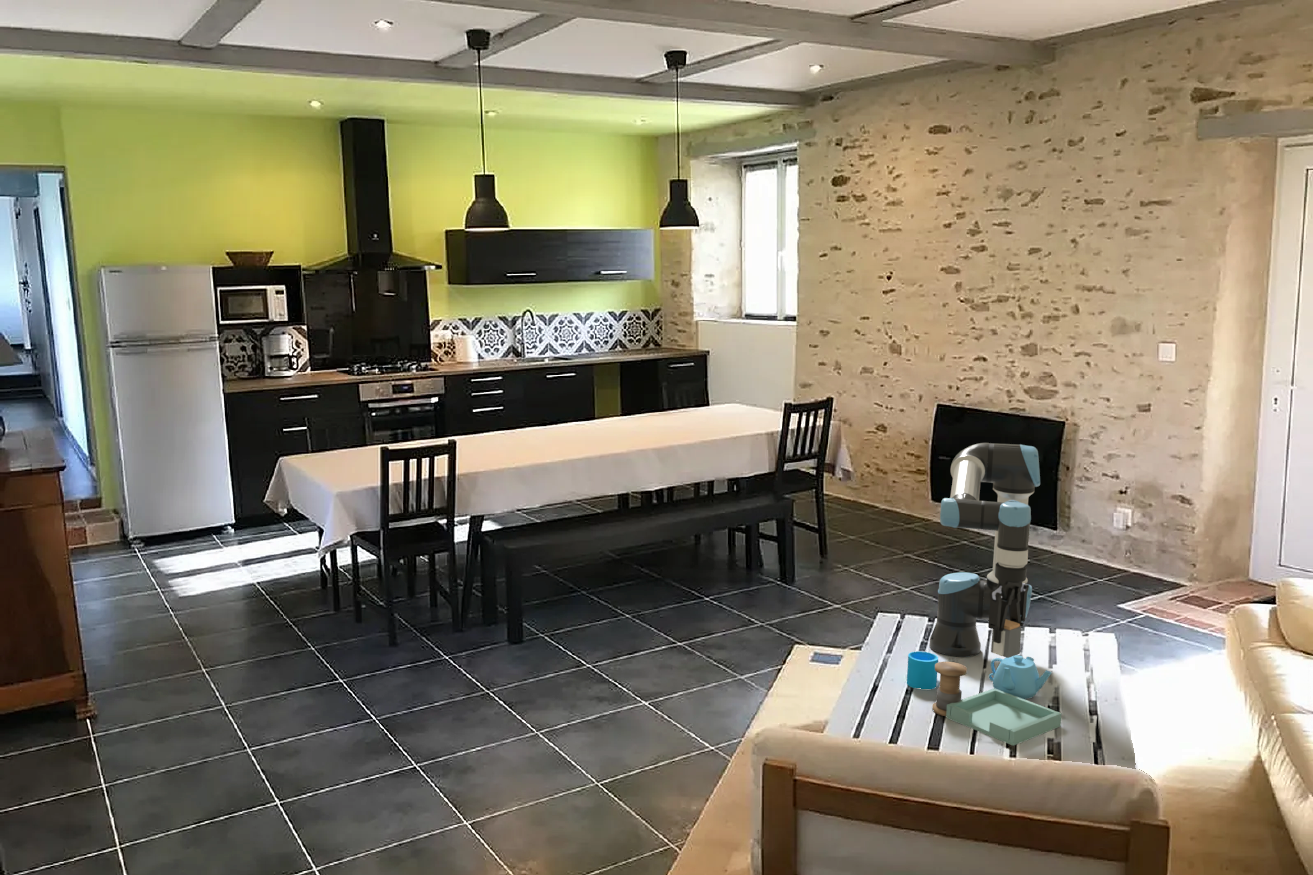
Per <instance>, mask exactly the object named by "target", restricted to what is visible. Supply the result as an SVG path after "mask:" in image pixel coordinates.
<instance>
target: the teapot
mask: <svg viewBox="0 0 1313 875" xmlns="http://www.w3.org/2000/svg"><path fill="white" fill-rule="evenodd" d="M1034 661H1035V659H1034V657H1031V656H1026V658H1024V656H1022V655H1019V654H1018V655H1015V656H1012V657H1009V658H1006V657H1004V658H1000V657H994V658H993V659H991V661H990V669H991V672H992V673H990V674H988V679H989V681H990V682H992V687H993V688H995V689H998V690H1001V691H1003V692H1006V693H1009V694H1011V695H1014V696H1017V697H1019V698H1022V699H1025V700H1028V699H1032V698H1034V697H1035V696H1036V695H1037V693H1038V692H1039V691H1040V690H1041V689H1043V686H1044V685H1045V683H1046V682H1047V681H1048V679H1049V677H1050V676H1051V675H1052V671H1049V670H1047V669H1046V670H1045V671H1044V672H1043V673H1042V674H1041V675H1040V673H1039V671H1038V668H1037V666H1036V665H1037V664H1036V662H1034ZM995 662H999V664H998V666H997V668H995ZM992 676H993V677H992ZM1033 696H1034V697H1033Z"/></svg>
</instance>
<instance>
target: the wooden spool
mask: <svg viewBox="0 0 1313 875" xmlns="http://www.w3.org/2000/svg"><path fill="white" fill-rule="evenodd" d="M935 671H936V672H937V674H940V675H939V686H937V687H936V688H937V689H936V700H935V701H936V702H934V703H932V706H931V708H932V711H933V710H934V711H933V712H934V713H935V714H937V715H939V716H943V717H946V711H947V705H948V704H950V703H957V702H960V701H961V700H962V695H963V693H962V690H961V689H960V688H961V686H960V685H961V684H960V683H961V677H963V676H965V675H966V674H967V671H968V668H967V666H965V665H964V664H962V663H958V662H953V661H938V663H936V664H935Z"/></svg>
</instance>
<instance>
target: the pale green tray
mask: <svg viewBox="0 0 1313 875" xmlns="http://www.w3.org/2000/svg"><path fill="white" fill-rule="evenodd" d="M945 718H946V719H948V720H951V721H953V722H956V723H958V724H960V725H963V726H965V727H968V728H970V729H973V730H974V731H977V732H980V733H982V734H984V735H987V736H989V737H992V738H994V739H996V740H999V741H1001V742H1003V743H1006V744H1008V745H1011V746H1016V745H1018V744H1020V743H1023V742H1025V741H1028V740H1030V739H1033V738H1036V737H1038V736H1040V735H1043V734H1045V733H1047V732H1050V731H1053V730H1055V729H1058V728H1060V727H1061V726H1062V725H1061V724H1062V713H1061V712H1059V711H1056V710H1054V709H1052V708H1049V707H1045V706H1043V705H1040V704H1037V703H1035V702H1032V701H1030V700H1028V699H1022V698H1019V697H1017V696H1014V695H1011V694H1009V693H1006V692H1003V691H1001V690H998V689H995V688H994V687H993V688H991V689H988V690H985V691H983V692H980V693H976V694H974V695H971V696H968V697H966V698H963V699H962V698H961V701H960V702H957V703H950V704H948V705H947V711H946V716H945Z"/></svg>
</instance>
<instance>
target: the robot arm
mask: <svg viewBox="0 0 1313 875" xmlns="http://www.w3.org/2000/svg"><path fill="white" fill-rule="evenodd" d="M1039 458H1040V457H1039V451H1038V448H1036V447H1035V446H1032V445H1025V444H1014V443H1013V444H1012V443H1011V444H1010V443H991V442H990V443H989V442H980V443H976V444H972V445H969V446H968V447H967V446H966V448H964V449H962V450H960V451H959V452H958V453H957V454H956V455H955V457H954V458H953V459H952V462H951V465H950V475H951V477H952V483H951V484H952V485H951V490H950V497H949V498H948V497H944V498H942V500H941V502H940V512H939V513H940V514H939V516H940V517H939V518H940V519H939V522H940V524H941V525H942V526H944V527H951V528H954V529H958V528H959V529H969V530H970V529H973V530H983V531H984V530H985V531H993V532H994V547H993V562H992V570H991V571H990V572H989V573H987V575H986V580H982V579H981V578H980V576H979V575H978V574H976V573H973V572H953V573H952V572H951V573H948V574H945V575H944V576H943V575H942V577H940V579H939V583H938V584H939V585H938V589H937V594H938V600H937V612H936V623H935V625H934V628H933V630H932V632H931V635H930V637H929V648H930V650H933V651H934V652H936V653H939V654H942V655H946V656H951V657H961V658H962V657H963V658H964V657H965V658H967V657H974V656H977V655H979V654H980V653H981V649H982V648H981V647H982V646H981V641H980V638H979V632H978V629H977V619H979V620H985V621H986V620H988V628H989V629H991V630H992V629H994V639H993V641H994V644H993V653H992V654H995V655H998V656H1001V657H1004V644H1005V631H1004V630H1003V629H1004V625H1005V620H1006V619H1007V620H1010V621H1013V622H1016V623H1019V624H1020V627H1023V626H1024V622H1026V620H1027V616H1028V614H1029V610H1030V606H1031V601H1032V600H1031V599H1032V593H1033V587H1032V585H1031V584H1028V581H1029V580H1028V578H1027V572H1028V571H1027V570H1028V567H1027V566H1026V565H1028V563H1029V562H1028V558H1029V540H1030V529H1031V522H1032V521H1031V520H1032V515H1031V511H1032V510H1031V506H1030V505H1029V497H1030V496H1031V495H1033V494H1034V493H1035V488H1037V487H1039V486H1040V485H1041V476H1040V475H1041V474H1040V472H1041V471H1040V462H1039V461H1040V460H1039ZM981 483H989V484H990V483H991V484H992V490H993V491H994V492H995V493H996V495H997V501H990V500H989V501H987V500H980V492H981V491H980V490H981Z"/></svg>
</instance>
